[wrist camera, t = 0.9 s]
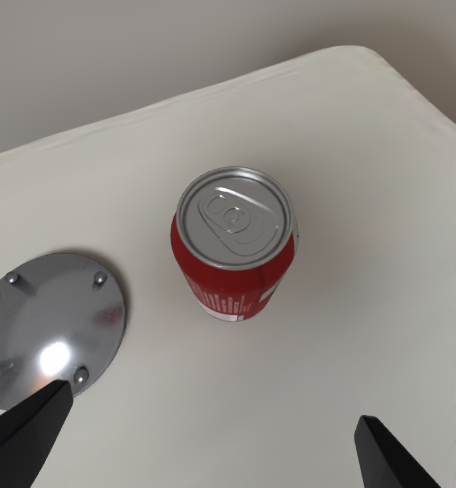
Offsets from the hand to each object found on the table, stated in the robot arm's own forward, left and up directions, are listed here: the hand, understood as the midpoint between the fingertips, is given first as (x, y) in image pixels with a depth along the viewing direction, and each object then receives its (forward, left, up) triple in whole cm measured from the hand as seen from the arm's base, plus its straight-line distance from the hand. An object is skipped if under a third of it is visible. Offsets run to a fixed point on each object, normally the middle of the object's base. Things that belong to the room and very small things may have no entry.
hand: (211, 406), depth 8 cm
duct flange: (+13, +7, -13) cm, 20 cm away
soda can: (+5, -6, -13) cm, 16 cm away
